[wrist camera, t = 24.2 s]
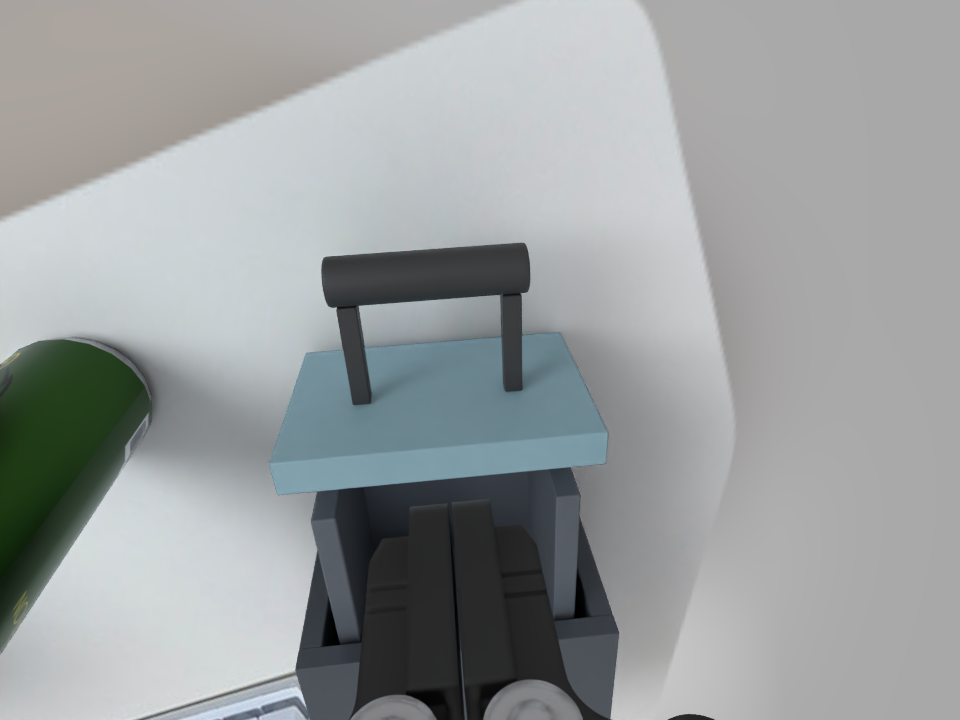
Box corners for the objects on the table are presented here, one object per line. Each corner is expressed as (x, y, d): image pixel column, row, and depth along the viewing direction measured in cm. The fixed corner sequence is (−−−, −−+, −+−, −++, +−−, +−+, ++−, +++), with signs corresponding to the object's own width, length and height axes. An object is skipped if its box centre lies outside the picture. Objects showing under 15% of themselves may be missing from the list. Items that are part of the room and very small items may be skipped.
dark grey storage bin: (326, 496, 28) (294, 670, 20) (565, 473, 29) (619, 633, 21) (361, 657, 33) (346, 840, 26) (560, 635, 34) (601, 806, 27)
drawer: (279, 225, 21) (225, 304, 15) (563, 206, 21) (620, 274, 16) (346, 550, 28) (328, 689, 22) (555, 529, 29) (592, 658, 23)
